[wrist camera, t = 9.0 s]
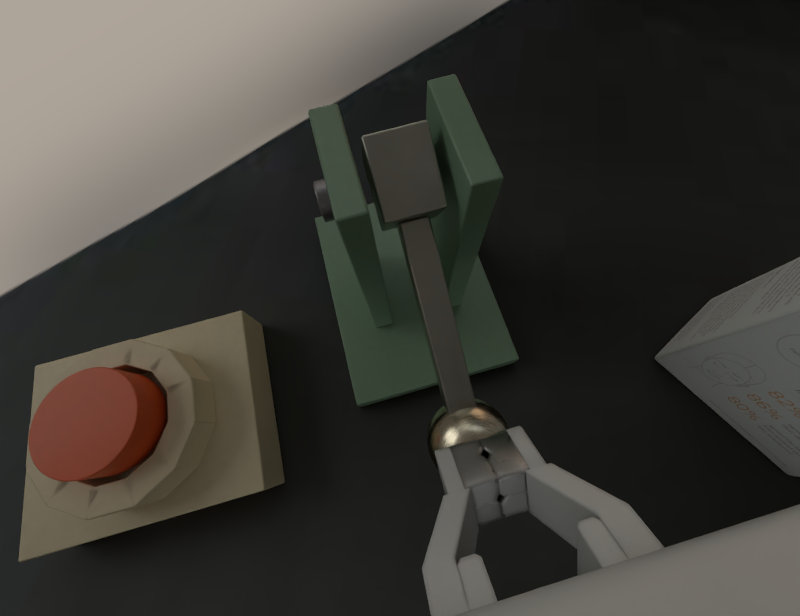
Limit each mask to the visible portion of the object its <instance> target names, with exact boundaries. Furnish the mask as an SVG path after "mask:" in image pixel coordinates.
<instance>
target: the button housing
mask: <svg viewBox="0 0 800 616" xmlns="http://www.w3.org/2000/svg"><path fill="white" fill-rule="evenodd" d="M94 367H107V368H112V369H117V370H121V371H126V372H131V373H135V374H140V375H143V376H146V377H148V378H149V379H151V380H152V381H154V382H155V383H156V384H157V385H158V387H159V388H160V390H161V391H162V393H163V396H164V399H165V403H166V420H165V425H164V428H163V431H162V434H161V436H160V438H159V440H158V442H157V443H156V445H155V446H154V448H153V449H152V451H151V452H150V453H149V454H148V455H147V456H146V457H145V458H144V459H143V460H142V461H141V462H140V463H138V464H137V465H136V466H134V467H133V468H131V469H129V470H127V471H125V472H123V473H120V474H118V475H114V476H108V477H101V478H94V479H87V480H79V481H70V482H65V481H58V480H54V479H52V478H49V477H47V476H46V475H44V474H43V473H42V472H41V471H40V470H39V469H38V468H37V467H36V466H35V464H34V462H33V460H32V458H31V455H30V451H29V436H28V447H27V459H26V480H25V492H24V504H23V516H22V527H21V539H20V551H19V562H23V561H27V560H30V559H33V558H37V557H40V556H44V555H47V554H50V553H54V552H57V551H61V550H64V549H67V548H71V547H74V546H77V545H81V544H84V543H88V542H91V541H94V540H98V539H101V538H105V537H108V536H111V535H115V534H118V533H122V532H125V531H128V530H132V529H135V528H138V527H142V526H145V525H149V524H152V523H155V522H159V521H162V520H166V519H169V518H172V517H176V516H179V515H183V514H186V513H189V512H193V511H196V510H199V509H203V508H206V507H210V506H213V505H216V504H220V503H223V502H227V501H230V500H233V499H237V498H240V497H243V496H247V495H250V494H254V493H257V492H260V491H264V490H266V489H269V488H272V487H275V486H277V485H280V484H283V483H284V482H285V479H284V472H283V465H282V458H281V452H280V445H279V438H278V431H277V424H276V417H275V410H274V404H273V397H272V390H271V383H270V376H269V369H268V362H267V356H266V349H265V342H264V335H263V328H262V324H260V323H259V322H257V321H256V320H254V319H253V318H252V317H250V316H249V315H247V314H246V313H244V312H243V311H238V312H234V313H230V314H227V315H223V316H219V317H216V318H212V319H208V320H204V321H201V322H197V323H193V324H190V325H186V326H182V327H178V328H175V329H171V330H167V331H164V332H160V333H156V334H152V335H149V336H145V337H141V338H138V339H134V340H133V339H131V340H127V341H124V342H120V343H116V344H113V345H109V346H105V347H101V348H98V349H94V350H92V351H89V352H86V353H82V354H78V355H74V356H71V357H67V358H63V359H59V360H56V361H52V362H48V363H45V364H41V365H37V366H35V374H34V386H33V398H32V410H31V421H30V425H29V431H30V427H31V423H32V420H33V417H34V415H35V413H36V411H37V409H38V407H39V405H40V404H41V402H42V401H43V399H44V398H45V397H46V396H47V394H48V393H49V392H50V391H51V390H52V389H53V388H54V387H55V386H56V385H57V384H59V383H60V382H61V381H63V380H64V379H65V378H67V377H69V376H70V375H72V374H74V373H76V372H79V371H82V370H85V369H89V368H94Z"/></svg>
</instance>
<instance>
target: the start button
mask: <svg viewBox="0 0 800 616" xmlns="http://www.w3.org/2000/svg"><path fill="white" fill-rule="evenodd" d="M165 420H166V403H165V399H164V396H163V393H162V391H161V390H160V388H159V387H158V385H157V384H156V383H155V382H154V381H152V380H151V379H149V378H148V377H146V376H143V375H140V374H135V373H131V372H126V371H121V370H117V369H112V368H107V367H94V368H89V369H85V370H82V371H79V372H76V373H74V374H72V375H70V376H69V377H67V378H65V379H64V380H63V381H61V382H60V383H59V384H57V385H56V386H55V387H54V388H53V389H52V390H51V391H50V392H49V393H48V394H47V396H46V397H45V398H44V399H43V401H42V402H41V404H40V405H39V407H38V409H37V411H36V413H35V415H34V417H33V420H32V423H31V427H30V431H29V451H30V455H31V458H32V460H33V462H34V464H35V466H36V467H37V468H38V469H39V470H40V471H41V472H42V473H43V474H44V475H46V476H47V477H49V478H52V479H54V480H58V481H65V482H70V481H79V480H87V479H94V478H101V477H108V476H114V475H118V474H120V473H123V472H125V471H127V470H129V469H131V468H133V467H134V466H136V465H137V464H138V463H140V462H141V461H142V460H143V459H144V458H145V457H146V456H147V455H148V454H149V453H150V452H151V451H152V449H153V448H154V446H155V445H156V443H157V442H158V440H159V438H160V436H161V434H162V431H163V428H164V425H165Z"/></svg>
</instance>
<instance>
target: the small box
mask: <svg viewBox="0 0 800 616" xmlns="http://www.w3.org/2000/svg"><path fill="white" fill-rule="evenodd" d="M655 360H656V361H657V362H658V363H660V364H661V365H662V366H663V367H664V368H666V369H667V370H668V371H669V372H670V373H671V374H672V375H674V376H675V377H676V378H677V379H678V380H679V381H680V382H682V383H683V384H684V385H685V386H686V387H687V388H689V389H690V390H691V391H692V392H693V393H694V394H695V395H696V396H698V397H699V398H700V399H701V400H702V401H703V402H705V403H706V404H707V405H708V406H709V407H710V408H712V409H713V410H714V411H715V412H716V413H717V414H718V415H719V416H721V417H722V418H723V419H724V420H725V421H726V422H727V423H729V424H730V425H731V426H732V427H733V428H734V429H735V430H737V431H738V432H739V433H740V434H741V435H742V436H744V437H745V438H746V439H747V440H748V441H749V442H751V443H752V444H753V445H754V446H755V447H756V448H758V449H759V450H760V451H761V452H762V453H763V454H764V455H766V456H767V457H768V458H769V459H770V460H771V461H772V462H774V463H775V464H776V465H777V466H778V467H779V468H780V469H781V470H783V471H784V472H785V473H786V474H788V475H791V476H798V477H800V257H799V258H797V259H795V260H793V261H791V262H789V263H787V264H785V265H782V266H780V267H778V268H776V269H774V270H772V271H770V272H768V273H765V274H763V275H761V276H759V277H757V278H754V279H752V280H750V281H748V282H746V283H744V284H742V285H740V286H737V287H735V288H733V289H731V290H729V291H727V292H725V293H723V294H721V295H719V296H716V297H714V298H712V299H711V300H710V301H709V302H708V303H707V304H706V305H705V306H704V307H703V308H702V309H701V310H700V311H699V312H698V313H697V314H696V315H695V316H694V317H693V318H692V319H691V320H690V321H689V322H688V323H687V324H686V325H685V326H684V327H683V328H682V329H681V330H680V331H679V332H678V333H677V334H676V335H675V336H674V337H673V338H672V339H671V340H670V341H669V342H668V343H667V344H666V346H665V347H664V348H663V349H662V350H661V351H660V352H659V353H658V354H657V355H656V356H655Z"/></svg>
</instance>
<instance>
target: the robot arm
mask: <svg viewBox="0 0 800 616" xmlns="http://www.w3.org/2000/svg"><path fill="white" fill-rule="evenodd" d="M434 453H435V457H436V461H437V465H438V469H439V473H440V477H441V480H442V484H443V488H444V491H445V495H444V496H443V499H442V503H441V506H440V509H439V513H438V516H437V519H436V523H435V526H434V530H433V533H432V536H431V540H430V543H429V546H428V550H427V553H426V556H425V560H424V563H423V567H422V571H423V577H424V582H425V587H426V592H427V597H428V602H429V608H430V613H431V616H800V504H799V505H796V506H792V507H789V508H786V509H783V510H780V511H777V512H774V513H771V514H768V515H765V516H761V517H758V518H755V519H752V520H749V521H746V522H743V523H740V524H737V525H734V526H730V527H727V528H724V529H721V530H718V531H715V532H712V533H709V534H706V535H703V536H699V537H696V538H693V539H690V540H687V541H684V542H681V543H678V544H675V545H672V546H668V547H665V548H664V546H663V545H662V544H661V543H660V542H659V540H658V539H657V538H656V537H655V535H654V534H653V533H652V532H651V531H650V529H649V528H648V527H647V526H646V525H645V523H644V522H643V521H642V520H641V518H640V517H639V516H638V515H637V514H636V512H635V511H634V510H633V509H632V507H631V506H630V505H629V504H627V503H626V502H624V501H622V500H620V499H618V498H616V497H614V496H612V495H610V494H609V493H607V492H605V491H603V490H601V489H599V488H597V487H595V486H594V485H592V484H590V483H588V482H586V481H584V480H582V479H580V478H578V477H577V476H575V475H573V474H571V473H569V472H567V471H565V470H563V469H561V468H560V467H558V466H556V465H554V464H552V463H549V464H546V462H545V461H544V459H543V458H542V456H541V455H540V453H539V452H538V451H537V449H536V448H535V446H534V445H533V443H532V442H531V440H530V439H529V437H528V436H527V434H526V433H525V431H524V430H523V428H522V427H520V426H517V427H514V428H510V429H507V430H503V431H500V432H497V433H493V434H490V435H487V436H484V437H481V438H477V439H475V440H472V441H468V442H464V443H460V444H457V445H453V446H449V447H446V448H443V449H439V450H435V451H434ZM526 511H529V512H530V513H531V514H533V515H534V516H535V517H536V518H538V519H539V520H540V521H541V522H543V523H544V524H545V525H547V526H548V527H549V528H550V529H552V530H553V531H554V532H556V533H557V534H558V535H559V536H561V537H562V538H563V539H565V540H566V541H567V542H568V543H570V544H571V545H572V546H574V547H575V548H576V549H577V550H578V551H577V576H575V577H572V578H569V579H566V580H563V581H560V582H557V583H553V584H550V585H547V586H544V587H541V588H538V589H535V590H532V591H529V592H526V593H522V594H519V595H516V596H513V597H510V598H507V599H504V600H501V601H497V598H496V596H495V593H494V590H493V587H492V585H491V582H490V579H489V576H488V574H487V571H486V568H485V565H484V563H483V560H482V557H481V556H479V555H476V554H475V549H476V542H477V536H478V529H479V528H478V526H481V525H483V524H486V523H489V522H492V521H495V520H498V519H501V518H504V517H508V516H511V515H515V514H518V513H522V512H526Z"/></svg>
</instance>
